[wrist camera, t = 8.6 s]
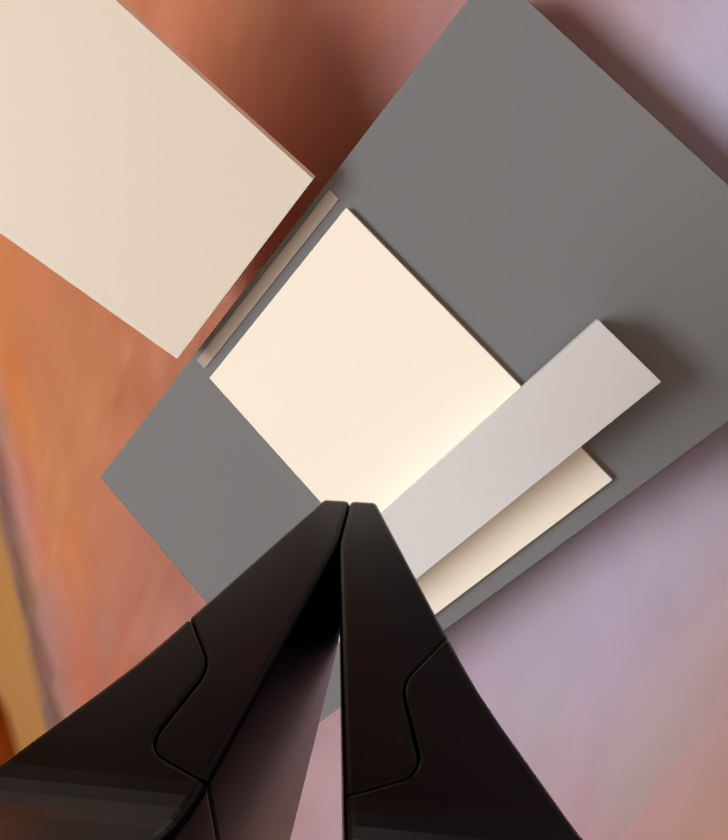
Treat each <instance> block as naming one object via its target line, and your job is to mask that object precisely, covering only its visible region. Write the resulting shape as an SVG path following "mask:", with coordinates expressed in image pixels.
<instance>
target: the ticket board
mask: <svg viewBox="0 0 728 840" xmlns="http://www.w3.org/2000/svg"><path fill="white" fill-rule="evenodd" d="M727 421H728V185H727V184H726V183H725V182H724V181H723V180H722V179H721V178H720V177H719V176H718V175H716V174H715V173H714V172H713V171H712V170H711V169H710V168H709V167H708V166H707V165H706V164H704V163H703V162H702V161H701V160H700V159H699V158H698V157H697V156H696V155H695V154H694V153H692V152H691V151H690V150H689V149H688V148H687V147H686V146H685V145H684V144H683V143H682V142H681V141H679V140H678V139H677V138H676V137H675V136H674V135H673V134H672V133H671V132H670V131H669V130H667V129H666V128H665V127H664V126H663V125H662V124H661V123H660V122H659V121H658V120H657V119H655V118H654V117H653V116H652V115H651V114H650V113H649V112H648V111H647V110H646V109H645V108H643V107H642V106H641V105H640V104H639V103H638V102H637V101H636V100H635V99H634V98H633V97H631V96H630V95H629V94H628V93H627V92H626V91H625V90H624V89H623V88H622V87H621V86H620V85H618V84H617V83H616V82H615V81H614V80H613V79H612V78H611V77H610V76H609V75H608V74H606V73H605V72H604V71H603V70H602V69H601V68H600V67H599V66H598V65H597V64H596V63H594V62H593V61H592V60H591V59H590V58H589V57H588V56H587V55H586V54H585V53H584V52H582V51H581V50H580V49H579V48H578V47H577V46H576V45H575V44H574V43H573V42H572V41H570V40H569V39H568V38H567V37H566V36H565V35H564V34H563V33H562V32H561V31H560V30H559V29H557V28H556V27H555V26H554V25H553V24H552V23H551V22H550V21H549V20H548V19H547V18H545V17H544V16H543V15H542V14H541V13H540V12H539V11H538V10H537V9H536V8H535V7H533V6H532V5H531V4H530V3H529V2H528V1H527V0H468V1H467V2H466V3H465V4H464V6H463V7H462V8H461V10H460V11H459V12H458V14H457V15H456V16H455V17H454V19H453V20H452V21H451V23H450V24H449V25H448V26H447V28H446V29H445V30H444V32H443V33H442V34H441V36H440V37H439V38H438V39H437V41H436V42H435V43H434V45H433V46H432V47H431V49H430V50H429V51H428V52H427V54H426V55H425V56H424V58H423V59H422V60H421V62H420V63H419V64H418V65H417V67H416V68H415V69H414V71H413V72H412V73H411V74H410V76H409V77H408V78H407V80H406V81H405V82H404V84H403V85H402V86H401V87H400V89H399V90H398V91H397V93H396V94H395V95H394V97H393V98H392V99H391V100H390V102H389V103H388V104H387V106H386V107H385V108H384V110H383V111H382V112H381V113H380V115H379V116H378V117H377V119H376V120H375V121H374V123H373V124H372V125H371V126H370V128H369V129H368V130H367V132H366V133H365V134H364V135H363V137H362V138H361V139H360V141H359V142H358V143H357V145H356V146H355V147H354V148H353V150H352V151H351V152H350V154H349V155H348V156H347V158H346V159H345V160H344V161H343V163H342V164H341V165H340V167H339V168H338V169H337V171H336V172H335V173H334V174H333V176H332V177H331V178H330V180H329V181H328V182H327V183H326V185H325V186H324V187H323V189H322V190H321V191H320V193H319V194H318V195H317V196H316V198H315V199H314V200H313V202H312V203H311V204H310V206H309V207H308V208H307V209H306V211H305V212H304V213H303V215H302V216H301V217H300V219H299V220H298V221H297V222H296V224H295V225H294V226H293V228H292V229H291V230H290V232H289V233H288V234H287V235H286V237H285V238H284V239H283V241H282V242H281V243H280V244H279V246H278V247H277V248H276V250H275V251H274V252H273V254H272V255H271V256H270V257H269V259H268V260H267V261H266V263H265V264H264V265H263V267H262V268H261V269H260V270H259V272H258V273H257V274H256V276H255V277H254V278H253V280H252V281H251V282H250V283H249V285H248V286H247V287H246V289H245V290H244V291H243V292H242V294H241V295H240V296H239V298H238V299H237V300H236V302H235V303H234V304H233V305H232V307H231V308H230V309H229V311H228V312H227V313H226V315H225V316H224V317H223V318H222V320H221V321H220V322H219V324H218V325H217V326H216V328H215V329H214V330H213V331H212V333H211V334H210V335H209V337H208V338H207V339H206V341H205V342H204V343H203V344H202V346H201V347H200V348H199V350H198V351H197V352H196V353H195V355H194V356H193V357H192V359H191V360H190V361H189V363H188V364H187V365H186V366H185V368H184V369H183V370H182V372H181V373H180V374H179V376H178V377H177V378H176V379H175V381H174V382H173V383H172V385H171V386H170V387H169V389H168V390H167V391H166V392H165V394H164V395H163V396H162V398H161V399H160V400H159V401H158V403H157V404H156V405H155V407H154V408H153V409H152V411H151V412H150V413H149V414H148V416H147V417H146V418H145V420H144V421H143V422H142V424H141V425H140V426H139V427H138V429H137V430H136V431H135V433H134V434H133V435H132V437H131V438H130V439H129V440H128V442H127V443H126V444H125V446H124V447H123V448H122V450H121V451H120V452H119V453H118V455H117V456H116V457H115V459H114V460H113V461H112V462H111V464H110V465H109V466H108V468H107V469H106V470H105V472H104V473H103V474H102V475H101V478H102V480H103V481H104V482H105V483H106V484H107V485H108V487H109V488H110V489H111V490H112V491H113V493H114V494H115V495H116V496H117V497H118V498H119V500H120V501H121V502H122V503H123V504H124V506H125V507H126V508H127V509H128V510H129V511H130V513H131V514H132V515H133V516H134V517H135V519H136V520H137V521H138V522H139V523H140V524H141V526H142V527H143V528H144V529H145V530H146V532H147V533H148V534H149V535H150V536H151V537H152V539H153V540H154V541H155V542H156V543H157V545H158V546H159V547H160V548H161V549H162V550H163V552H164V553H165V554H166V555H167V556H168V558H169V559H170V560H171V561H172V562H173V563H174V565H175V566H176V567H177V568H178V569H179V571H180V572H181V573H182V574H183V575H184V576H185V578H186V579H187V580H188V581H189V582H190V584H191V585H192V586H193V587H194V588H195V589H196V591H197V592H198V593H199V594H200V595H201V597H202V598H203V599H204V600H205V601H206V602H207V604H208V603H209V602H210V601H211V600H212V599H213V598H215V597H216V596H217V595H218V594H219V593H220V592H221V591H222V590H224V589H225V588H226V587H227V586H228V585H229V584H230V583H231V582H233V581H234V580H235V579H236V578H237V577H238V576H239V575H240V574H242V573H243V572H244V571H245V570H246V569H247V568H248V567H249V566H251V565H252V564H253V563H254V562H255V561H256V560H257V559H258V558H260V557H261V556H262V555H263V554H264V553H265V552H266V551H267V550H269V549H270V548H271V547H272V546H273V545H274V544H275V543H276V542H278V541H279V540H280V539H281V538H282V537H283V536H284V535H285V534H287V533H288V532H289V531H290V530H291V529H292V528H293V527H294V526H296V525H297V524H298V523H299V522H300V521H301V520H302V519H303V518H305V517H306V516H307V515H308V514H309V513H310V512H311V511H313V510H314V509H315V508H316V507H317V506H318V505H319V504H320V503H322V502H323V501H325V500H333V501H346V502H348V503H349V506H350V504H351V503H352V502H367V503H374V504H376V505H377V507H378V509H379V511H380V512H381V514H382V516H383V518H384V520H385V522H386V524H387V526H388V528H389V529H390V531H391V533H392V535H393V537H394V539H395V541H396V543H397V544H398V546H399V548H400V550H401V552H402V554H403V556H404V558H405V560H406V561H407V563H408V565H409V567H410V569H411V571H412V573H413V575H414V576H415V578H416V580H417V582H418V584H419V586H420V588H421V590H422V591H423V593H424V595H425V597H426V599H427V601H428V603H429V605H430V607H431V608H432V610H433V612H434V614H435V616H436V618H437V620H438V622H439V623H440V625H441V627H442V629H443V631H444V630H445V629H447V628H448V627H449V626H451V625H452V624H453V623H455V622H456V621H458V620H459V619H460V618H462V617H463V616H464V615H466V614H467V613H468V612H470V611H471V610H472V609H474V608H475V607H477V606H478V605H479V604H481V603H482V602H483V601H485V600H486V599H487V598H489V597H490V596H491V595H493V594H494V593H495V592H497V591H498V590H500V589H501V588H502V587H504V586H505V585H506V584H508V583H509V582H510V581H512V580H513V579H514V578H516V577H517V576H519V575H520V574H521V573H523V572H524V571H525V570H527V569H528V568H529V567H531V566H532V565H533V564H535V563H536V562H538V561H539V560H540V559H542V558H543V557H544V556H546V555H547V554H548V553H550V552H551V551H552V550H554V549H555V548H557V547H558V546H559V545H561V544H562V543H563V542H565V541H566V540H567V539H569V538H570V537H571V536H573V535H574V534H576V533H577V532H578V531H580V530H581V529H582V528H584V527H585V526H586V525H588V524H589V523H590V522H592V521H593V520H595V519H596V518H597V517H599V516H600V515H601V514H603V513H604V512H605V511H607V510H608V509H609V508H611V507H612V506H613V505H615V504H616V503H618V502H619V501H620V500H622V499H623V498H624V497H626V496H627V495H628V494H630V493H631V492H632V491H634V490H635V489H637V488H638V487H639V486H641V485H642V484H643V483H645V482H646V481H647V480H649V479H650V478H651V477H653V476H654V475H656V474H657V473H658V472H660V471H661V470H662V469H664V468H665V467H666V466H668V465H669V464H670V463H672V462H673V461H675V460H676V459H677V458H679V457H680V456H681V455H683V454H684V453H685V452H687V451H688V450H689V449H691V448H692V447H694V446H695V445H696V444H698V443H699V442H700V441H702V440H703V439H704V438H706V437H707V436H708V435H710V434H711V433H712V432H714V431H715V430H717V429H718V428H719V427H721V426H722V425H723V424H725V423H726V422H727ZM340 707H341V700H340V636H339V642H338V646H337V651H336V656H335V660H334V664H333V668H332V672H331V676H330V680H329V684H328V688H327V692H326V696H325V700H324V704H323V708H322V712H321V716H320V720H319V722H321V721H322V720H323V719H325V718H326V717H327V716H329V715H330V714H331V713H333V712H334V711H335V710H337V709H338V708H340Z"/></svg>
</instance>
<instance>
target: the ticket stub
mask: <svg viewBox="0 0 728 840" xmlns="http://www.w3.org/2000/svg"><path fill="white" fill-rule="evenodd" d="M314 178H315V175H314V174H313V173H311V172H310V171H309V170H308V169H307V168H306V167H305V166H304V165H303V164H302V163H300V162H299V161H298V160H297V159H296V158H295V157H294V156H293V155H292V154H291V153H289V152H288V151H287V150H286V149H285V148H284V147H283V146H282V145H281V144H280V143H278V142H277V141H276V140H275V139H274V138H273V137H272V136H271V135H270V134H269V133H267V132H266V131H265V130H264V129H263V128H262V127H261V126H260V125H259V124H258V123H256V122H255V121H254V120H253V119H252V118H251V117H250V116H249V115H248V114H247V113H245V112H244V111H243V110H242V109H241V108H240V107H239V106H238V105H237V104H236V103H234V102H233V101H232V100H231V99H230V98H229V97H228V96H227V95H226V94H225V93H223V92H222V91H221V90H220V89H219V88H218V87H217V86H216V85H215V84H214V83H212V82H211V81H210V80H209V79H208V78H207V77H206V76H205V75H204V74H203V73H201V72H200V71H199V70H198V69H197V68H196V67H195V66H194V65H193V64H192V63H190V62H189V61H188V60H187V59H186V58H185V57H184V56H183V55H182V54H181V53H179V52H178V51H177V50H176V49H175V48H174V47H173V46H172V45H171V44H170V43H168V42H167V41H166V40H165V39H164V38H163V37H162V36H161V35H160V34H159V33H157V32H156V31H155V30H154V29H153V28H152V27H151V26H150V25H149V24H148V23H147V22H145V21H144V20H143V19H142V18H141V17H140V16H139V15H138V14H137V13H136V12H134V11H133V10H132V9H131V8H130V7H129V6H128V5H127V4H126V3H125V2H123V1H122V0H0V233H1V234H2V235H4V236H5V237H7V238H8V239H9V240H11V241H12V242H14V243H15V244H16V245H18V246H19V247H21V248H22V249H24V250H25V251H26V252H28V253H29V254H31V255H32V256H33V257H35V258H36V259H38V260H39V261H40V262H42V263H43V264H45V265H46V266H47V267H49V268H50V269H52V270H53V271H54V272H56V273H57V274H59V275H60V276H61V277H63V278H64V279H66V280H67V281H68V282H70V283H71V284H73V285H74V286H76V287H77V288H78V289H80V290H81V291H83V292H84V293H85V294H87V295H88V296H90V297H91V298H92V299H94V300H95V301H97V302H98V303H99V304H101V305H102V306H104V307H105V308H106V309H108V310H109V311H111V312H112V313H113V314H115V315H116V316H118V317H119V318H120V319H122V320H123V321H125V322H126V323H128V324H129V325H130V326H132V327H133V328H135V329H136V330H137V331H139V332H140V333H142V334H143V335H144V336H146V337H147V338H149V339H150V340H151V341H153V342H154V343H156V344H157V345H158V346H160V347H161V348H163V349H164V350H165V351H167V352H168V353H170V354H171V355H172V356H174V357H175V358H178V357H179V356H180V354H181V353H182V352H183V351H184V349H185V348H186V347H187V345H188V344H189V343H190V341H191V340H192V339H193V337H194V336H195V335H196V333H197V332H198V331H199V329H200V328H201V327H202V325H203V324H204V323H205V322H206V320H207V319H208V318H209V316H210V315H211V314H212V312H213V311H214V310H215V308H216V307H217V306H218V304H219V303H220V302H221V300H222V299H223V298H224V296H225V295H226V294H227V292H228V291H229V290H230V288H231V287H232V286H233V285H234V283H235V282H236V281H237V279H238V278H239V277H240V275H241V274H242V273H243V271H244V270H245V269H246V267H247V266H248V265H249V263H250V262H251V261H252V259H253V258H254V257H255V255H256V254H257V253H258V252H259V250H260V249H261V248H262V246H263V245H264V244H265V242H266V241H267V240H268V238H269V237H270V236H271V234H272V233H273V232H274V230H275V229H276V228H277V226H278V225H279V224H280V222H281V221H282V220H283V219H284V217H285V216H286V215H287V213H288V212H289V211H290V209H291V208H292V207H293V205H294V204H295V203H296V201H297V200H298V199H299V197H300V196H301V195H302V193H303V192H304V191H305V189H306V188H307V187H308V185H309V184H310V183H311V182H312V180H313V179H314Z"/></svg>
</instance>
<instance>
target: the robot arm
mask: <svg viewBox="0 0 728 840" xmlns="http://www.w3.org/2000/svg"><path fill="white" fill-rule="evenodd" d="M339 636H340V700H341V777H342V840H583V839H582V838H581V837H580V836H579V835H578V833H577V832H576V831H575V829H574V828H573V827H572V825H571V824H570V823H569V821H568V820H567V819H566V817H565V816H564V814H563V813H562V812H561V810H560V809H559V807H558V806H557V805H556V803H555V802H554V800H553V799H552V798H551V796H550V795H549V793H548V792H547V791H546V789H545V788H544V786H543V785H542V784H541V782H540V781H539V779H538V778H537V777H536V775H535V774H534V772H533V771H532V770H531V768H530V767H529V765H528V764H527V763H526V761H525V760H524V758H523V757H522V756H521V754H520V753H519V751H518V750H517V749H516V747H515V746H514V744H513V743H512V742H511V740H510V739H509V737H508V736H507V735H506V733H505V732H504V730H503V729H502V728H501V726H500V725H499V723H498V722H497V720H496V719H495V717H494V716H493V714H492V713H491V711H490V710H489V708H488V707H487V705H486V704H485V702H484V701H483V699H482V698H481V696H480V695H479V693H478V692H477V690H476V688H475V687H474V685H473V683H472V681H471V680H470V678H469V676H468V675H467V673H466V671H465V669H464V668H463V666H462V664H461V662H460V661H459V659H458V657H457V655H456V653H455V651H454V649H453V647H452V645H451V644H450V642H448V640H447V637H446V635H445V633H444V631H443V629H442V627H441V625H440V623H439V622H438V620H437V618H436V616H435V614H434V612H433V610H432V608H431V607H430V605H429V603H428V601H427V599H426V597H425V595H424V593H423V591H422V590H421V588H420V586H419V584H418V582H417V580H416V578H415V576H414V575H413V573H412V571H411V569H410V567H409V565H408V563H407V561H406V560H405V558H404V556H403V554H402V552H401V550H400V548H399V546H398V544H397V543H396V541H395V539H394V537H393V535H392V533H391V531H390V529H389V528H388V526H387V524H386V522H385V520H384V518H383V516H382V514H381V512H380V511H379V509H378V507H377V505H376V504H374V503H367V502H352V503H351V504H350V506H349V503H348V502H346V501H333V500H325V501H323V502H322V503H320V504H319V505H318V506H317V507H316V508H315V509H314V510H313V511H311V512H310V513H309V514H308V515H307V516H306V517H305V518H303V519H302V520H301V521H300V522H299V523H298V524H297V525H296V526H294V527H293V528H292V529H291V530H290V531H289V532H288V533H287V534H285V535H284V536H283V537H282V538H281V539H280V540H279V541H278V542H276V543H275V544H274V545H273V546H272V547H271V548H270V549H269V550H267V551H266V552H265V553H264V554H263V555H262V556H261V557H260V558H258V559H257V560H256V561H255V562H254V563H253V564H252V565H251V566H249V567H248V568H247V569H246V570H245V571H244V572H243V573H242V574H240V575H239V576H238V577H237V578H236V579H235V580H234V581H233V582H231V583H230V584H229V585H228V586H227V587H226V588H225V589H224V590H222V591H221V592H220V593H219V594H218V595H217V596H216V597H215V598H213V599H212V600H211V601H210V602H209V603H208V604H207V605H206V606H204V607H203V608H202V609H201V610H200V611H199V612H198V613H197V614H195V615H194V616H193V617H192V618H191V622H190V621H188V622H186V623H185V624H184V625H183V626H182V627H180V628H179V629H178V630H177V631H176V632H175V633H174V634H173V635H171V636H170V637H169V638H168V639H167V640H166V641H164V642H163V643H162V644H161V645H160V646H159V647H157V648H156V649H155V650H154V651H153V652H151V653H150V654H149V655H148V656H147V657H145V658H144V659H143V660H142V661H141V662H140V663H138V664H137V665H136V666H134V667H133V668H132V669H131V670H129V671H128V672H127V673H125V674H124V675H123V676H121V677H120V678H119V679H117V680H116V681H115V682H114V683H112V684H111V685H110V686H108V687H107V688H106V689H104V690H103V691H102V692H100V693H99V694H98V695H96V696H95V697H94V698H92V699H91V700H90V701H88V702H87V703H85V704H84V705H83V706H81V707H80V708H79V709H77V710H76V711H75V712H73V713H72V714H70V715H69V716H68V717H66V718H65V719H64V720H62V721H61V722H60V723H58V724H57V725H55V726H54V727H53V728H51V729H50V730H49V731H47V732H46V733H45V734H43V735H42V736H40V737H39V738H38V739H36V740H35V741H34V742H32V743H31V744H30V745H28V746H27V747H25V748H24V749H23V750H21V751H20V752H19V753H17V754H16V755H15V756H13V757H12V758H10V759H9V760H8V761H6V762H5V763H4V764H2V765H1V766H0V840H290V837H291V833H292V829H293V825H294V821H295V817H296V813H297V809H298V805H299V801H300V797H301V793H302V789H303V785H304V781H305V777H306V773H307V769H308V765H309V761H310V757H311V753H312V749H313V745H314V740H315V736H316V732H317V728H318V724H319V720H320V716H321V712H322V708H323V704H324V700H325V696H326V692H327V688H328V684H329V680H330V676H331V672H332V668H333V664H334V660H335V656H336V651H337V646H338V642H339Z"/></svg>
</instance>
